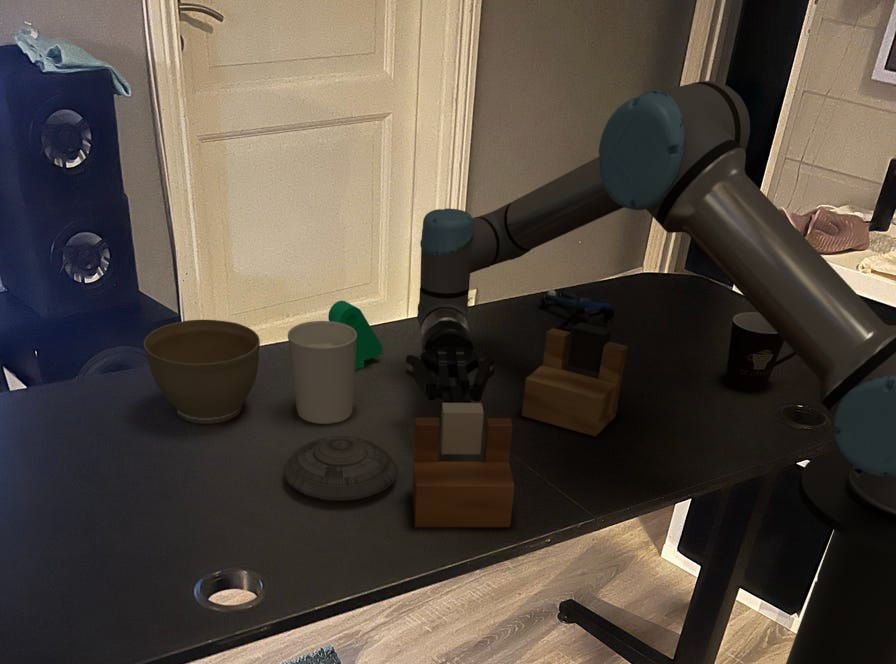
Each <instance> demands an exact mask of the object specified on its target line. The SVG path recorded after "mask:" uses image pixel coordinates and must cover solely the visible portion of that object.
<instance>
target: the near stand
mask: <svg viewBox="0 0 896 664" xmlns="http://www.w3.org/2000/svg"><path fill="white" fill-rule="evenodd" d="M413 431H414V432H413V460H412V461H413V462H412V463H413V464H412V470H413V471H412V493H411V494H412V506H413V520H414V527H415V528H511V523H512V516H513V505H514V496H515V488H516V487H515V482H514V478H513V472H512V469H511V464H510V457H511V456H510V455H511V447H512V445H511V444H512V435H513V422H512V418H511V417H509V418H508V417H487V418H486V423H485V434H484V435H485V436H484V446H483V448H484V449H483V461H439V452H440V451H439V450H440V433H441V422H440V418H439V417H414V430H413Z"/></svg>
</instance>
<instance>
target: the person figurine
mask: <svg viewBox="0 0 896 664" xmlns="http://www.w3.org/2000/svg"><path fill="white" fill-rule="evenodd" d="M564 298H566V299H564ZM548 301H550V302H553V303H556V304H558V306H562V307H565V308H566V309H568V310H571V311H574V312H573V313H572V314H571V315H570V316H569V317H568V318H567V319H566V320H564V321H563V322H562V323H560V325H559V327H560V329H562V330H563V329H565V327H568V326H569V322H571V321H572V320H573V319H574V318H576V317H577V316H578V315H588V317H589V318H593V317H596V316H600V315H603V318H604V319H605V320H611V319H614V317H615V310H614V308H612V305H611V303H610V302H604V301H601V302H600V301H599V302H594V301H593V300H592V299H591V298H590V297H581V296H577V295H576V294H574V293H571V292H567V291H564V290H563V289H558V296H557V291H555V289H549V290H548V291H547V293H545V292H543V293H542V294H541V297H540V307H541V308H542V309H545V308H546V306H547V303H548Z"/></svg>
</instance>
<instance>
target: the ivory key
mask: <svg viewBox="0 0 896 664" xmlns="http://www.w3.org/2000/svg"><path fill="white" fill-rule="evenodd" d="M484 415H485V412H484V407H483V403H482V402H471V403H442V407H441V417H440V418H441V419H440V435H439V448H440V454H441V455H481V453H482V441H483V428H484Z"/></svg>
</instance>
